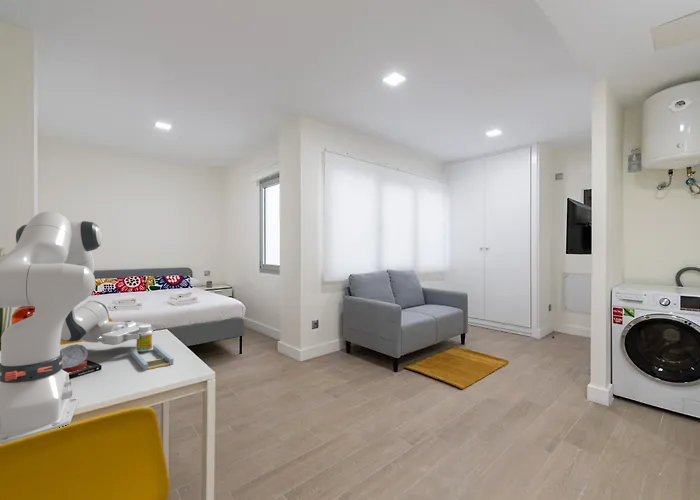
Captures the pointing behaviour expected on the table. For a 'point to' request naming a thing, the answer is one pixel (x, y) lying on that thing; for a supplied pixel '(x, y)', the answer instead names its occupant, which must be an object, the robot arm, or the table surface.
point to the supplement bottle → (144, 338)
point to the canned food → (74, 358)
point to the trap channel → (152, 364)
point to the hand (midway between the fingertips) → (145, 334)
